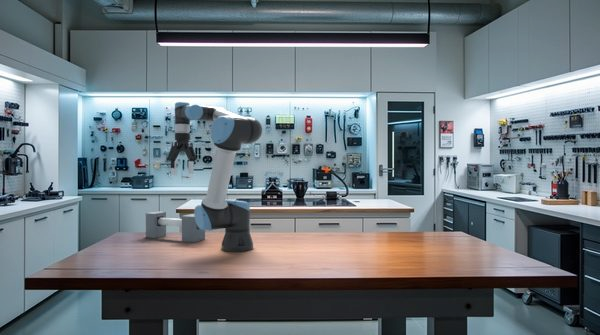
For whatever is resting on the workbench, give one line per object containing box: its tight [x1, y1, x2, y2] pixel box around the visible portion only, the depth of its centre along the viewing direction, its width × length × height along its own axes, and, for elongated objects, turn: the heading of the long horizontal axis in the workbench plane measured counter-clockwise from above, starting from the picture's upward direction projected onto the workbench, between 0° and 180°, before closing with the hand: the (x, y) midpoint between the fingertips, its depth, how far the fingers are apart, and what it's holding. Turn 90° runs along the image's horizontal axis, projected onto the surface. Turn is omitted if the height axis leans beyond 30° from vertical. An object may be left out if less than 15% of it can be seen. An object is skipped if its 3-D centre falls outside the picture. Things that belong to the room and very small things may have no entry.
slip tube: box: [157, 217, 182, 228], centre depth 225 cm, size 25×4×4 cm, turn 67°
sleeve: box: [181, 213, 206, 243], centre depth 220 cm, size 8×9×13 cm
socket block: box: [145, 210, 167, 239], centre depth 230 cm, size 6×9×13 cm, turn 157°
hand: (182, 174), depth 216 cm, fingers open, 13 cm apart
